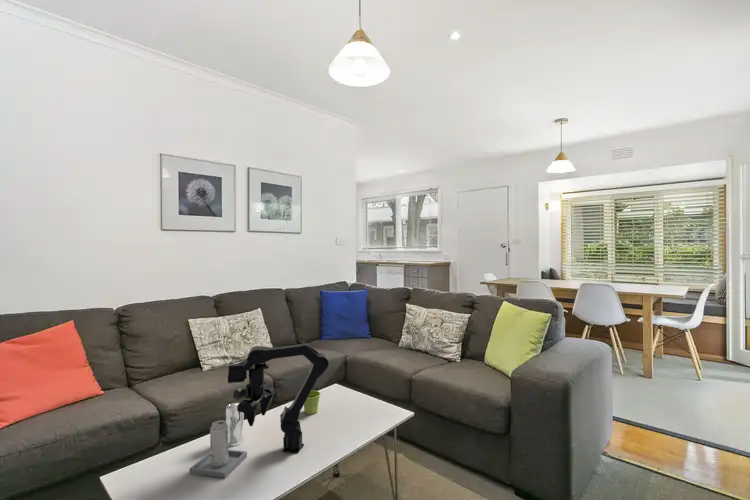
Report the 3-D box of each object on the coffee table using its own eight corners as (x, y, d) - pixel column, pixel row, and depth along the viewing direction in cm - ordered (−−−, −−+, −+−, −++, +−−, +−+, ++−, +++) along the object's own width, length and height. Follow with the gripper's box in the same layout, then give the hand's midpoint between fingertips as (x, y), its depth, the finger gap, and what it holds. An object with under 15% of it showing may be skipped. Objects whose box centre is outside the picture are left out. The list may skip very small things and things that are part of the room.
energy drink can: (210, 461, 140) (210, 421, 140) (228, 457, 142) (227, 418, 142) (210, 470, 134) (210, 428, 134) (228, 466, 137) (228, 424, 137)
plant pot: (319, 416, 178) (318, 397, 178) (299, 416, 178) (299, 398, 178) (322, 407, 187) (322, 390, 187) (303, 407, 187) (303, 390, 187)
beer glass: (238, 447, 151) (237, 410, 151) (222, 445, 152) (222, 408, 152) (247, 438, 157) (246, 403, 157) (232, 437, 159) (231, 401, 159)
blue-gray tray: (246, 456, 144) (246, 451, 144) (224, 478, 130) (224, 473, 130) (214, 453, 147) (214, 447, 147) (189, 474, 133) (189, 468, 133)
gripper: (250, 371, 156) (251, 408, 156) (223, 387, 138) (224, 430, 138) (275, 372, 154) (275, 410, 154) (251, 389, 136) (252, 432, 136)
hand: (257, 420), depth 146 cm, fingers open, 9 cm apart
